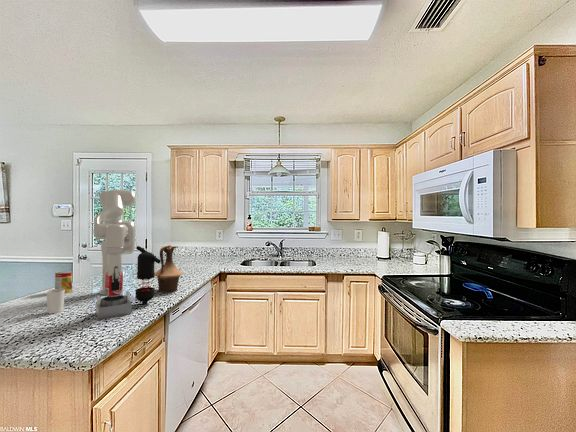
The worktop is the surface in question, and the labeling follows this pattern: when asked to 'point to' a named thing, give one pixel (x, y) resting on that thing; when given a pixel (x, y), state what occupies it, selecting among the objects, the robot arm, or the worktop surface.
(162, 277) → the pitcher
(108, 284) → the soda can
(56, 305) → the white cup
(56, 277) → the canned food
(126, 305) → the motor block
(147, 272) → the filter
